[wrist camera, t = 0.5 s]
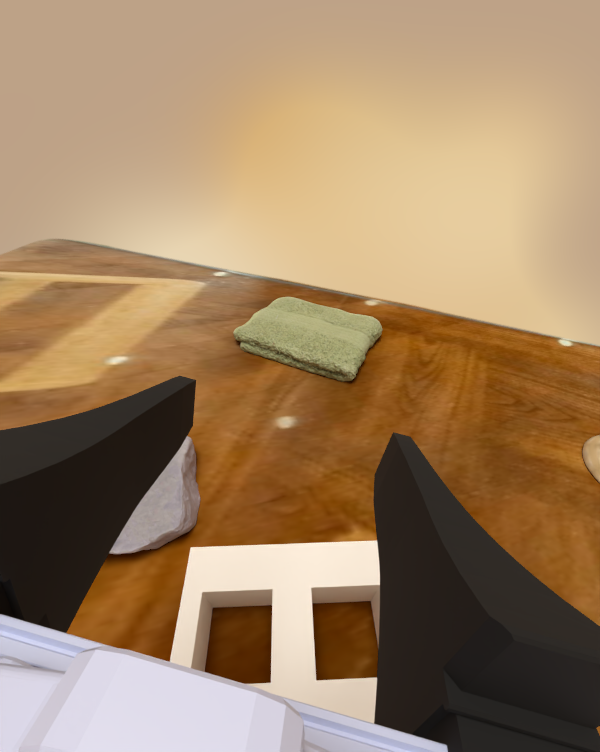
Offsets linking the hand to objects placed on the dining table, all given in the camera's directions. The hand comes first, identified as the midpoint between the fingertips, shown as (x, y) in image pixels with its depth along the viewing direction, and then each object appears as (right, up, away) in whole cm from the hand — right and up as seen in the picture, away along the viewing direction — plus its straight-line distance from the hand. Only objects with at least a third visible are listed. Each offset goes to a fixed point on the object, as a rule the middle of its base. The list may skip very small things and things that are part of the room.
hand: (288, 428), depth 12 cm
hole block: (0, -16, +11) cm, 20 cm away
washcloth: (+2, +6, +36) cm, 36 cm away
